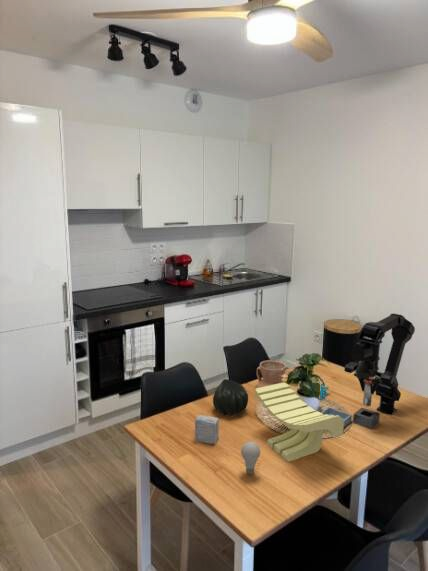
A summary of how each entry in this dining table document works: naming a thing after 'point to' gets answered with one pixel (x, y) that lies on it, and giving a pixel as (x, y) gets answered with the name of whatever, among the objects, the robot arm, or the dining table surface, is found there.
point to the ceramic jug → (271, 373)
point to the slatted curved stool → (296, 422)
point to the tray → (343, 415)
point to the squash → (230, 398)
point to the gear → (323, 389)
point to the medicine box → (206, 429)
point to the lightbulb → (250, 455)
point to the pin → (368, 391)
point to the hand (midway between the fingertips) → (367, 392)
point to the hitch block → (366, 418)
